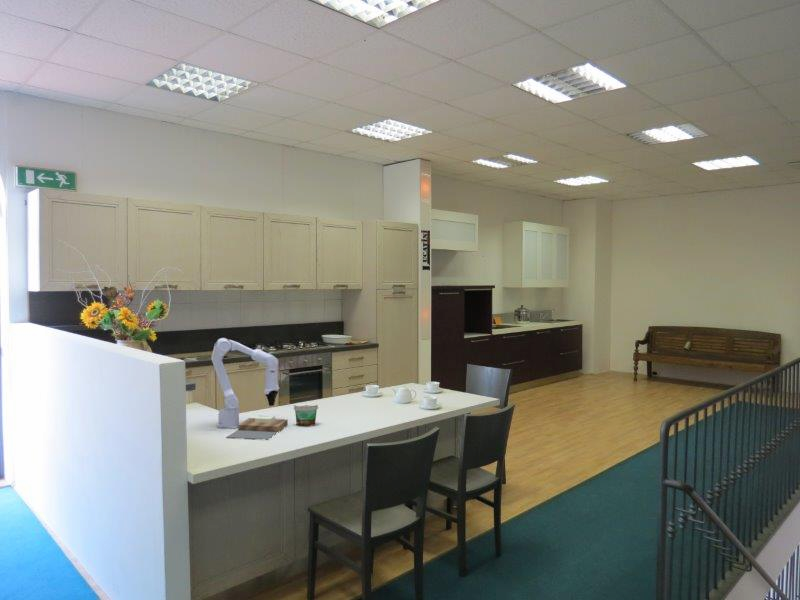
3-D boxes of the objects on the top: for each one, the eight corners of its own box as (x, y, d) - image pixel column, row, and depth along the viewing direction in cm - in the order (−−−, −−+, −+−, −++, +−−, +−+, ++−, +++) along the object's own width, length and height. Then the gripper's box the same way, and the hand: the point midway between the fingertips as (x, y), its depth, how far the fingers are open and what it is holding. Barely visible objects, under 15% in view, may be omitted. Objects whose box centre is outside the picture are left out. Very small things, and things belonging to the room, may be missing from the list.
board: (237, 431, 270) (237, 424, 270) (249, 423, 284) (249, 417, 283) (277, 432, 267) (277, 426, 267) (287, 425, 281) (287, 419, 281)
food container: (293, 427, 277) (293, 407, 277) (293, 424, 283) (293, 404, 283) (318, 426, 280) (318, 406, 279) (318, 423, 286) (318, 403, 285)
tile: (254, 422, 275) (254, 418, 275) (259, 419, 281) (259, 415, 281) (270, 423, 274) (270, 418, 274) (274, 420, 280) (274, 416, 279)
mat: (226, 438, 257) (226, 437, 257) (237, 431, 269) (237, 430, 269) (267, 440, 255) (267, 439, 255) (277, 433, 266) (277, 432, 266)
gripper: (273, 381, 278) (273, 408, 278) (283, 376, 292) (284, 402, 292) (260, 381, 279) (260, 408, 279) (271, 376, 293) (271, 402, 293)
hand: (271, 405), depth 286 cm, fingers closed
